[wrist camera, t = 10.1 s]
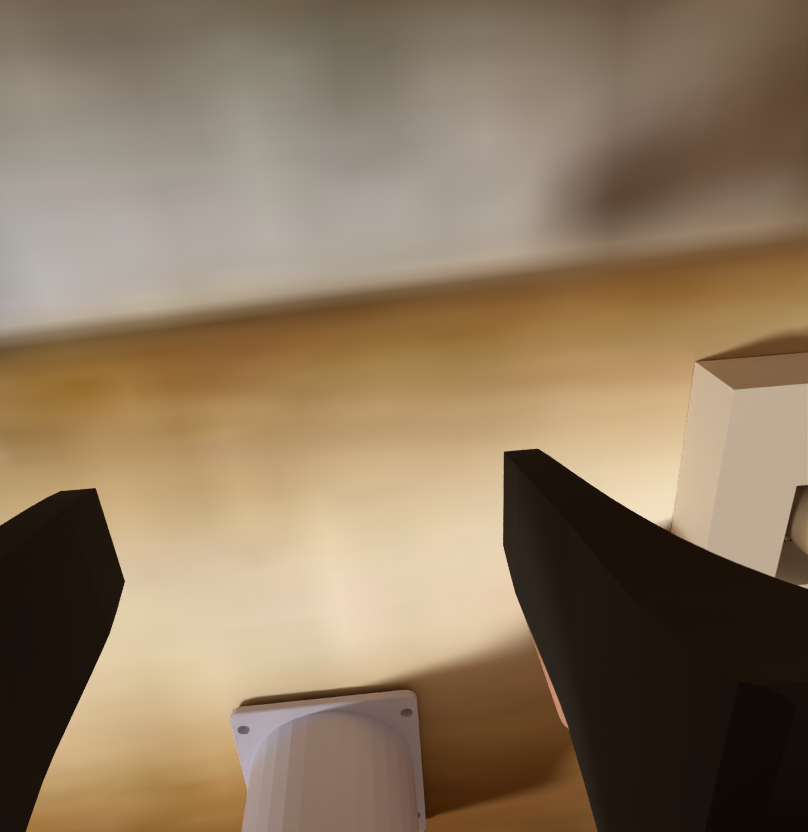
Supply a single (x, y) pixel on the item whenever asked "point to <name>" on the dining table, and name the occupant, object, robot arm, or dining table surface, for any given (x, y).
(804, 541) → the beech pin
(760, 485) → the hole plate
